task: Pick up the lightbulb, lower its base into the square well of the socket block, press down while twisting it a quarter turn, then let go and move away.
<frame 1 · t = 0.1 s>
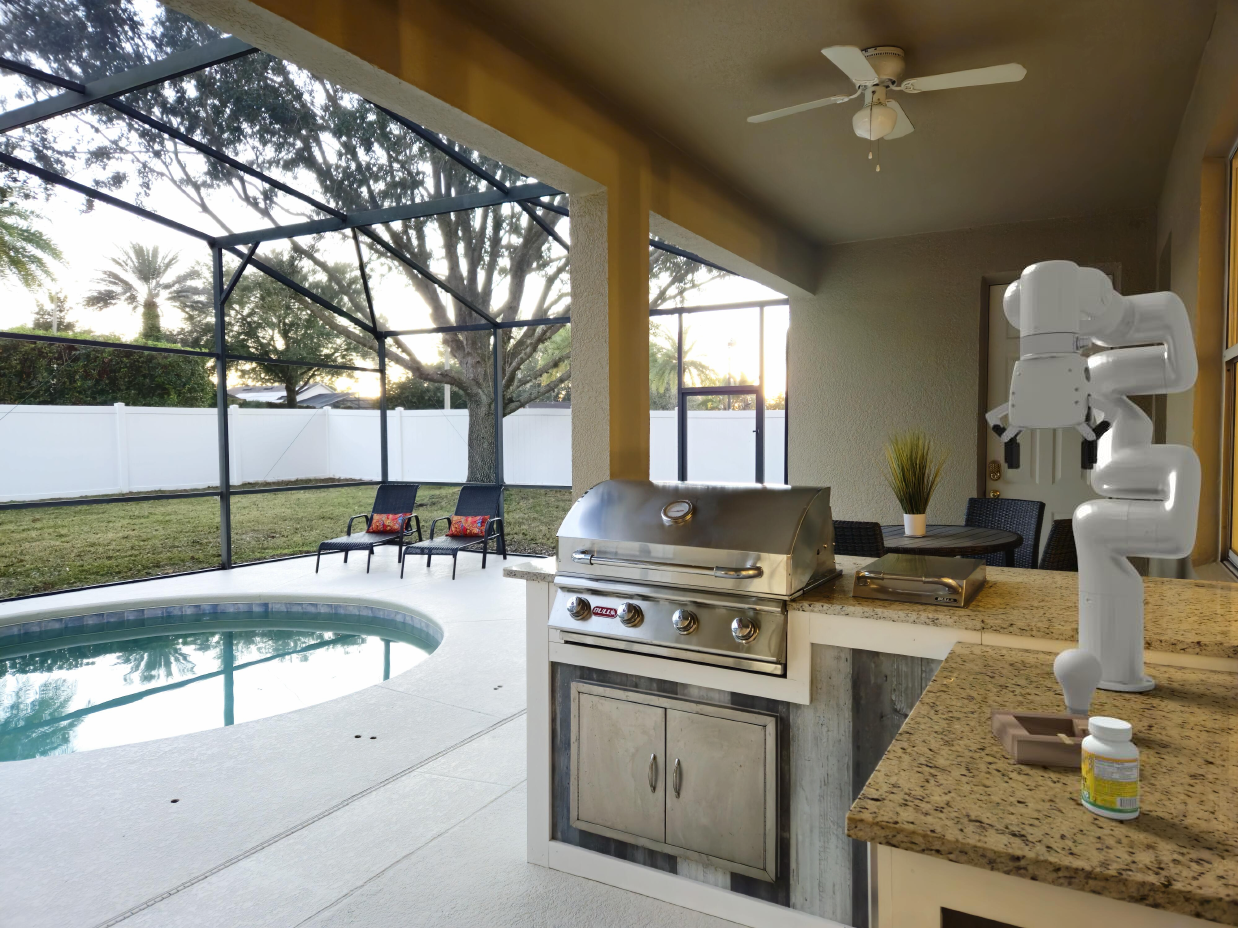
hand: (1049, 469, 110), 37 cm above the countertop, tool pointing down, fingers open, 9 cm apart
supplement bottle: (1109, 811, 84), on the countertop
lightbulb: (1077, 726, 111), on the countertop
socket block: (1051, 749, 102), on the countertop
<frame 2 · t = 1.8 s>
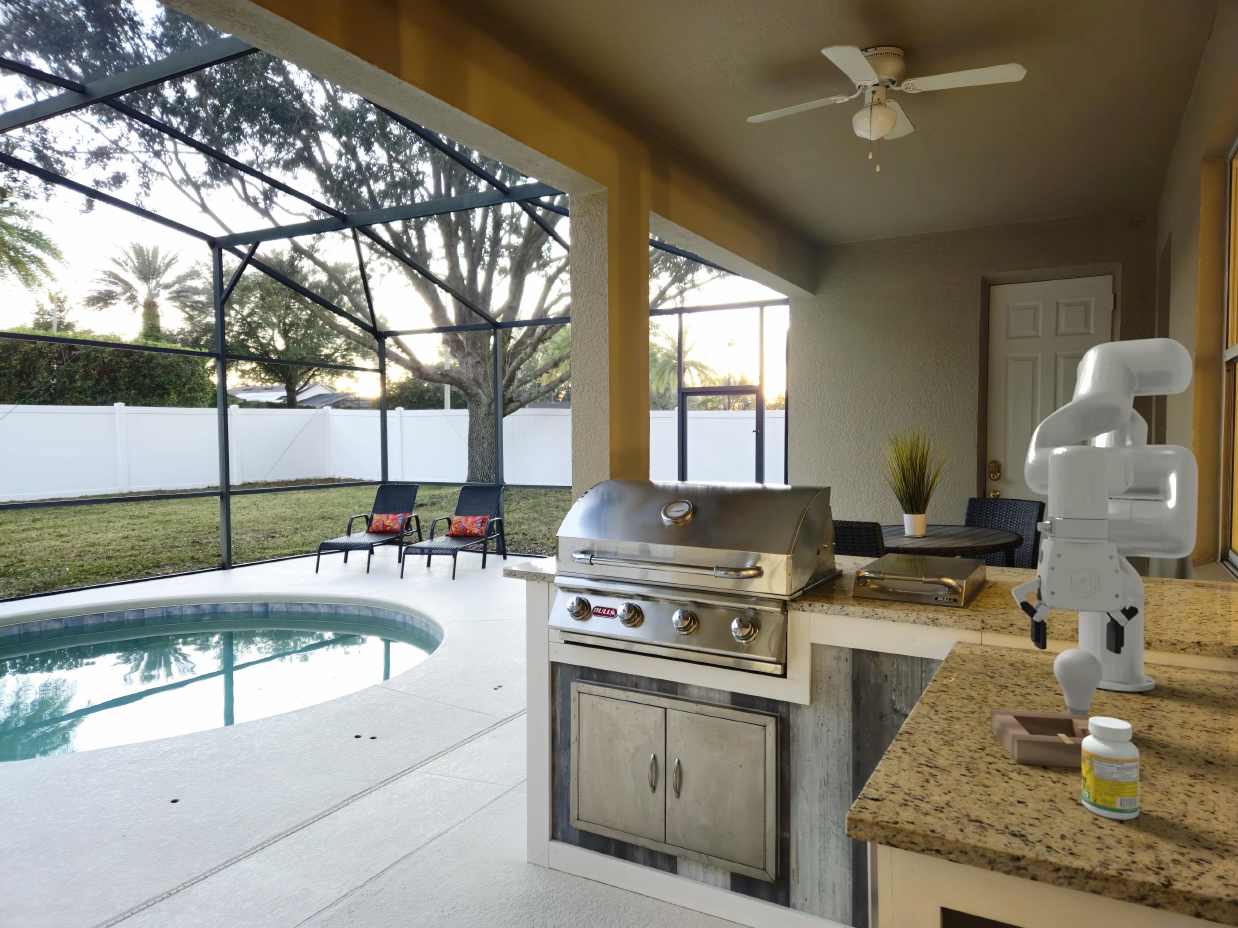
hand: (1076, 649, 111), 11 cm above the countertop, tool pointing down, fingers open, 9 cm apart
nothing on the countertop moved.
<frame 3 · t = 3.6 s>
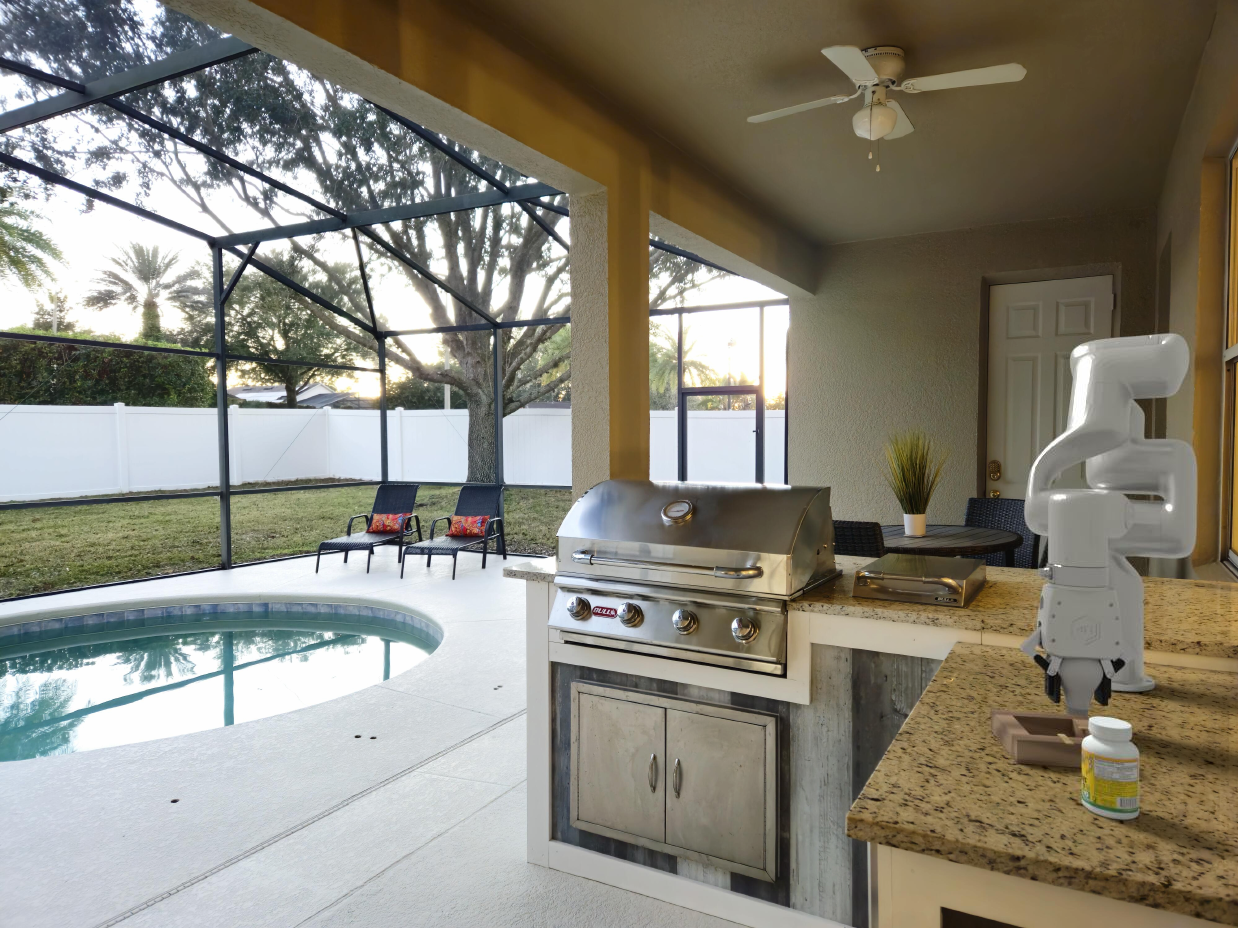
hand: (1077, 700, 111), 4 cm above the countertop, tool pointing down, fingers closed on lightbulb, 5 cm apart
lightbulb: (1077, 726, 111), on the countertop, touching gripper
everything else where it was.
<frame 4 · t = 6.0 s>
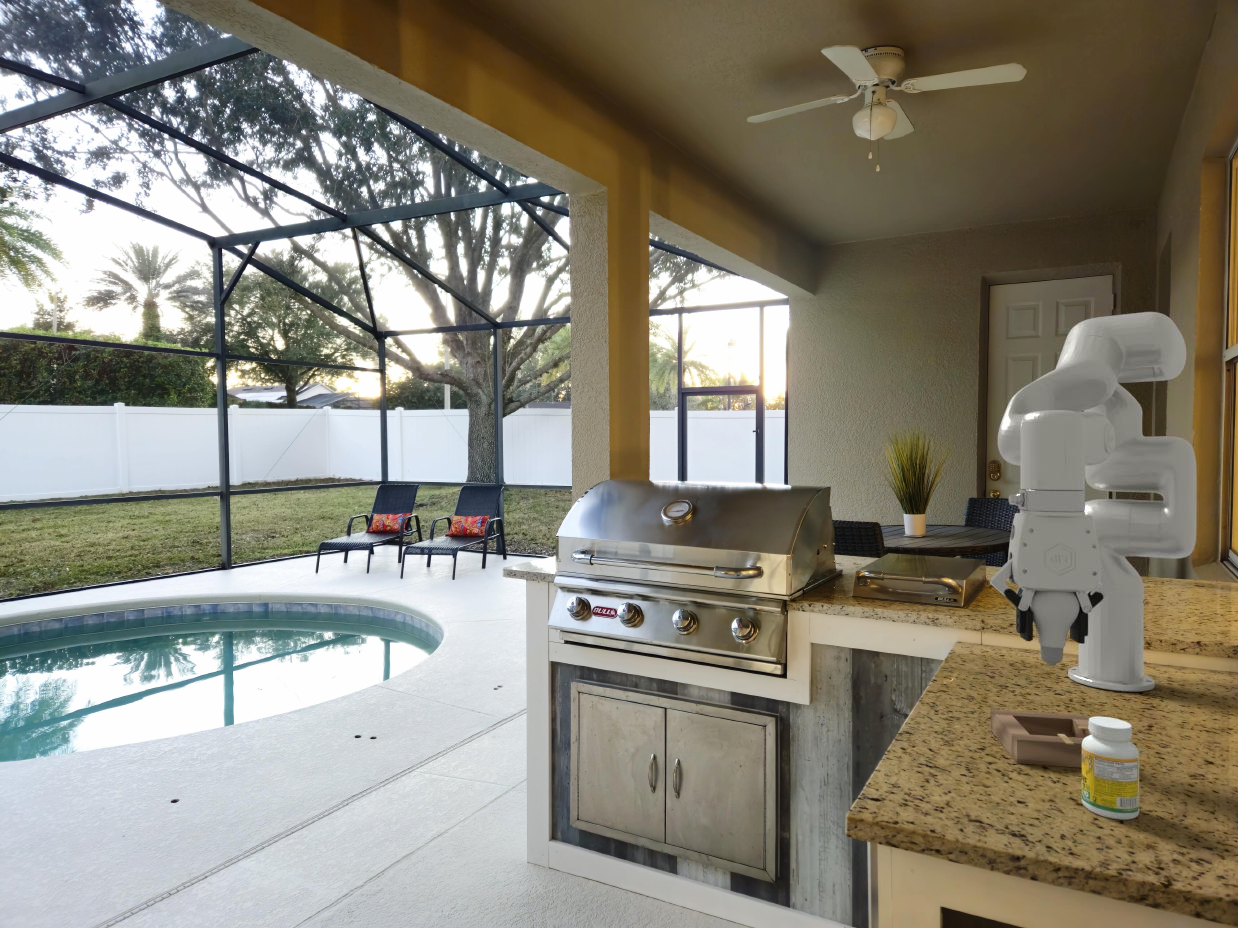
hand: (1051, 638, 102), 15 cm above the countertop, tool pointing down, fingers closed on lightbulb, 5 cm apart
lightbulb: (1051, 666, 102), point 11 cm above the countertop, touching gripper
everything else where it was.
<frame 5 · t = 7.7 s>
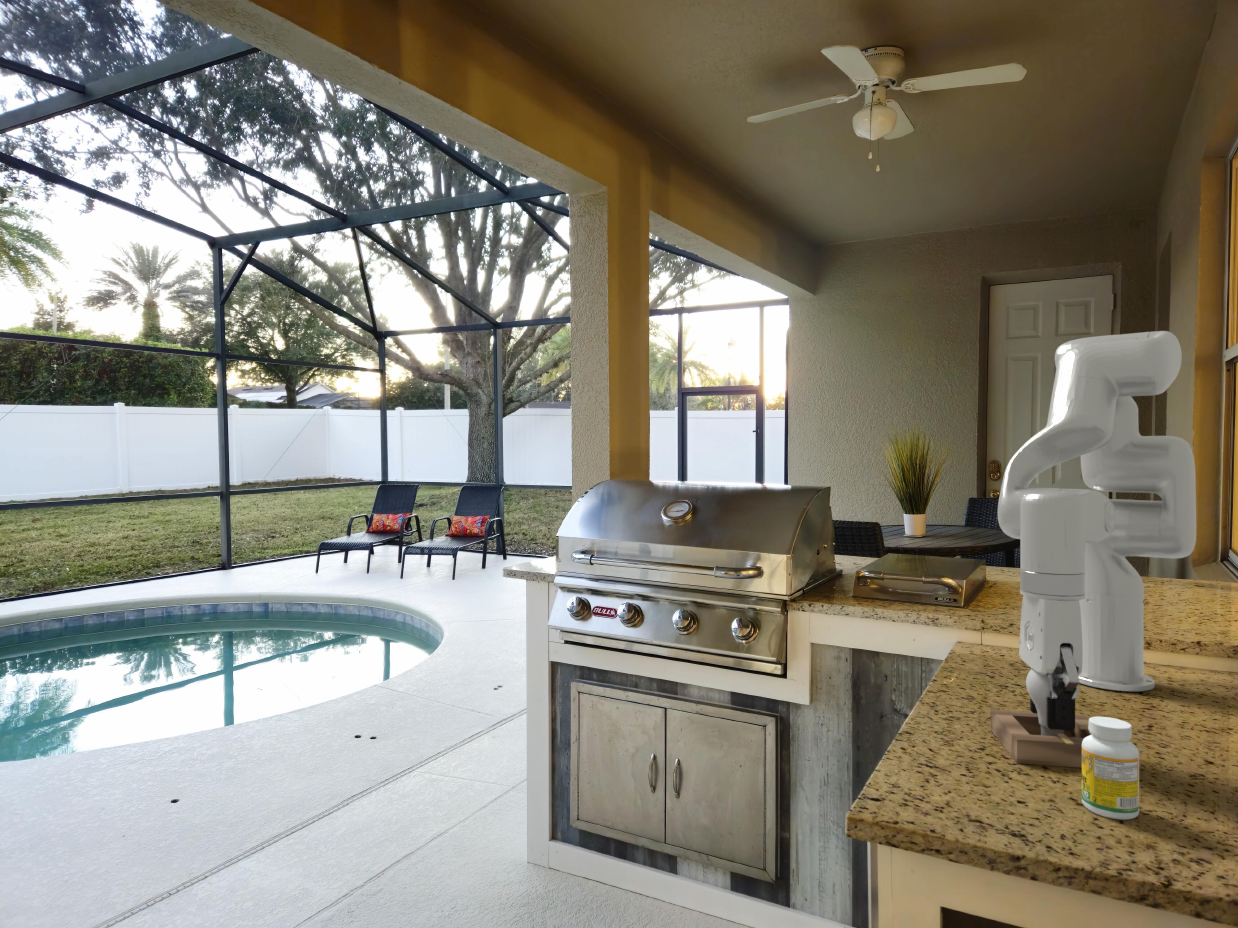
hand: (1051, 719, 102), 4 cm above the countertop, tool pointing down, fingers closed on lightbulb, 5 cm apart
lightbulb: (1052, 747, 102), resting on socket block, touching gripper
everything else where it was.
when the fingers open (4 cm above the countertop, at t = 8.6 s): lightbulb stays where it is, resting on socket block.
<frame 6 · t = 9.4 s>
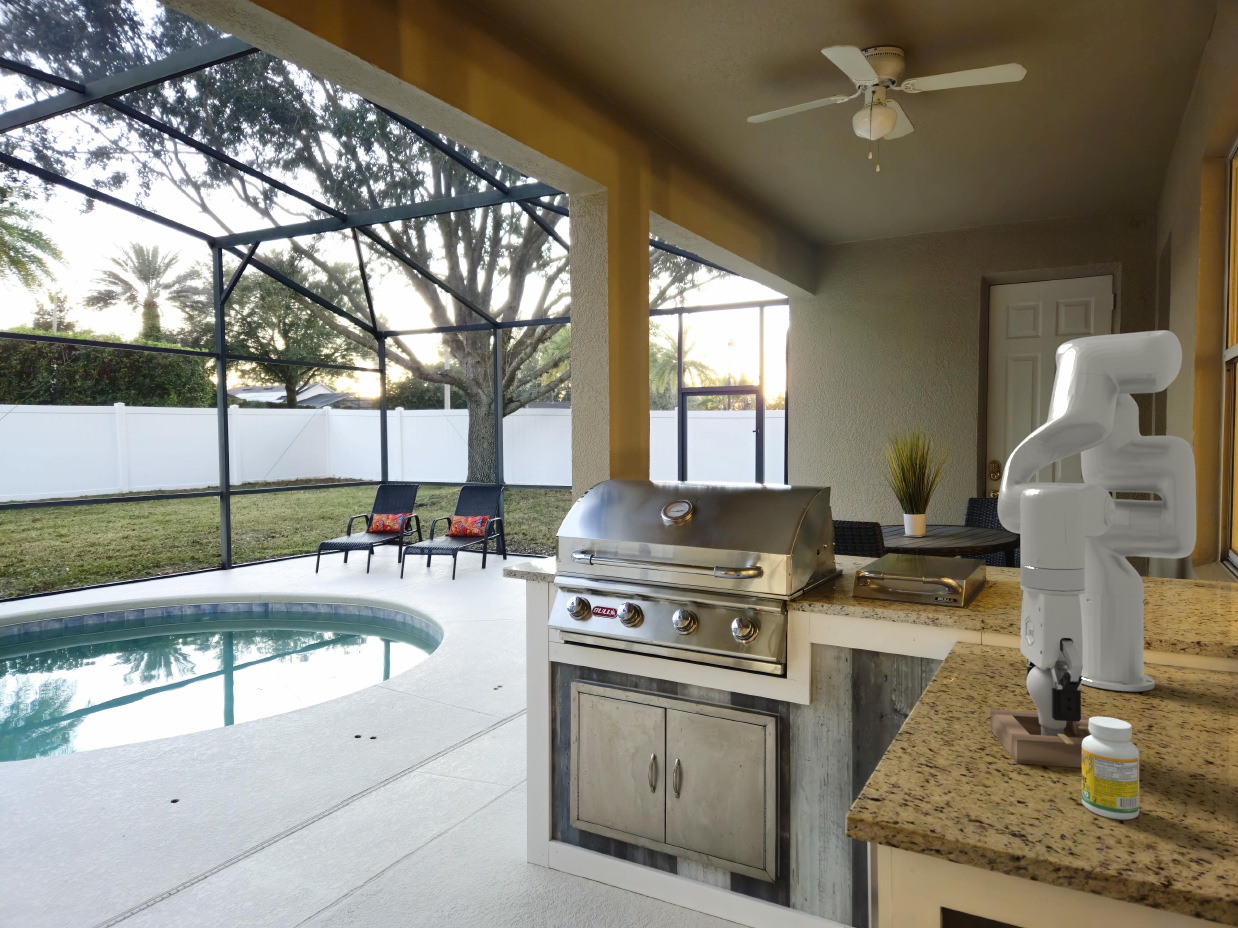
hand: (1052, 707, 102), 5 cm above the countertop, tool pointing down, fingers open, 9 cm apart
lightbulb: (1052, 747, 102), resting on socket block
everything else where it was.
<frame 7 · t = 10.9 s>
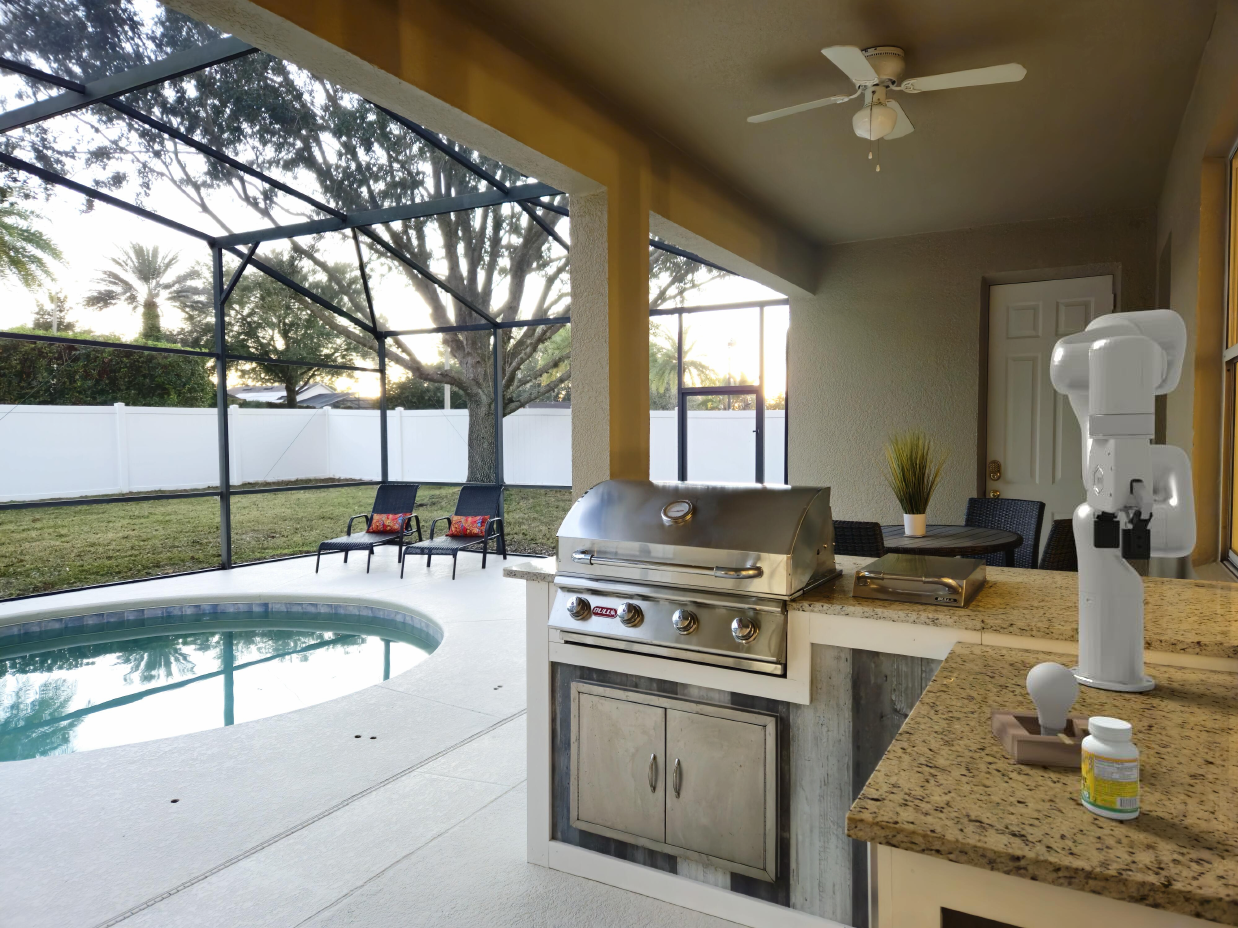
hand: (1120, 553, 105), 26 cm above the countertop, tool pointing down, fingers open, 9 cm apart
nothing on the countertop moved.
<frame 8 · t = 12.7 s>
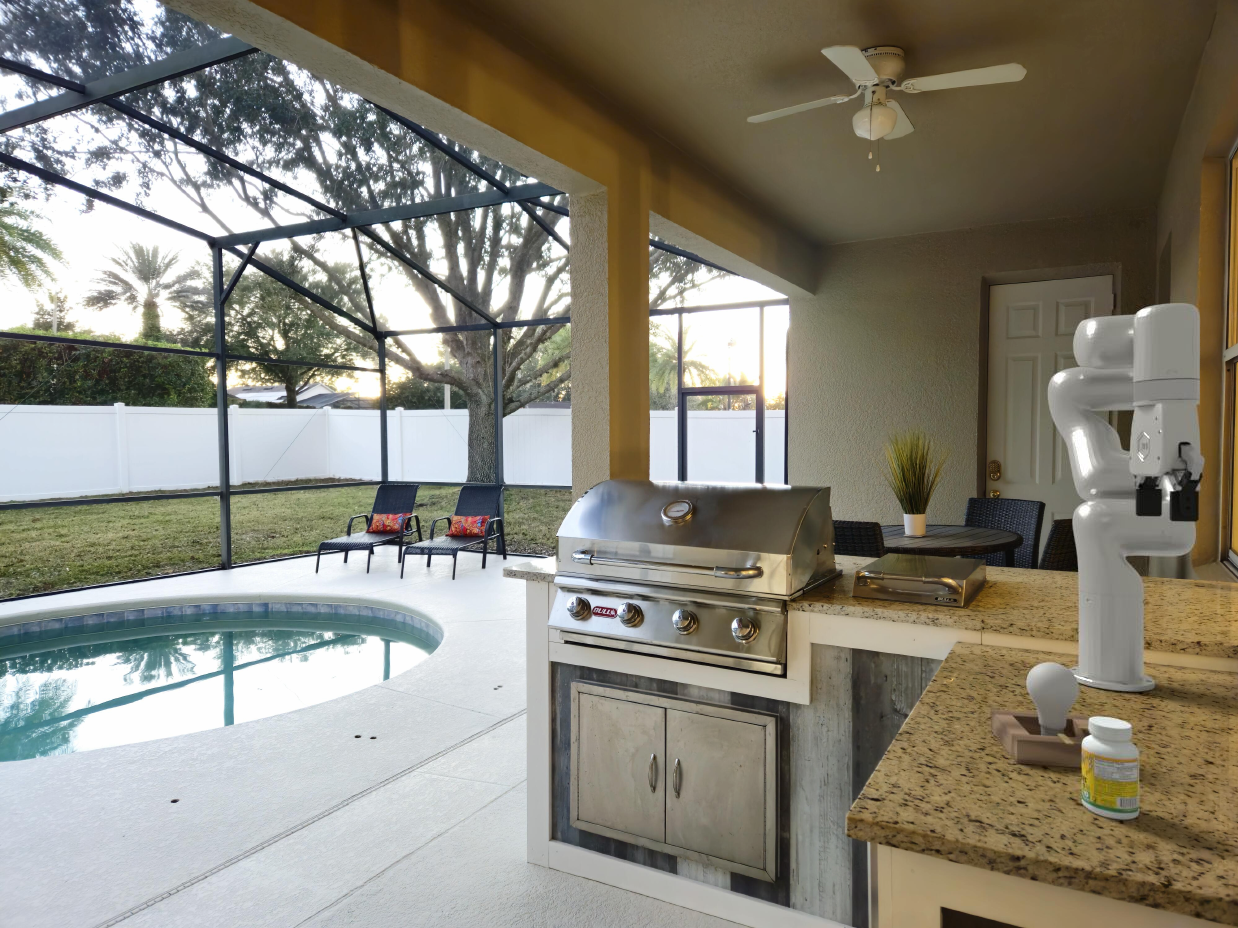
hand: (1165, 518, 106), 30 cm above the countertop, tool pointing down, fingers open, 9 cm apart
nothing on the countertop moved.
at the end: lightbulb 0.1 cm from the socket block (horizontally); lightbulb resting on socket block; lightbulb tilted 0° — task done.
